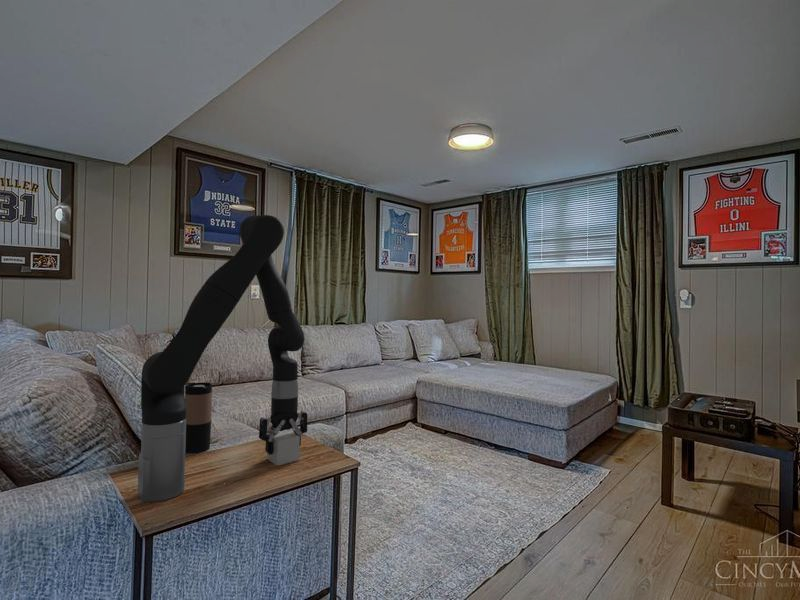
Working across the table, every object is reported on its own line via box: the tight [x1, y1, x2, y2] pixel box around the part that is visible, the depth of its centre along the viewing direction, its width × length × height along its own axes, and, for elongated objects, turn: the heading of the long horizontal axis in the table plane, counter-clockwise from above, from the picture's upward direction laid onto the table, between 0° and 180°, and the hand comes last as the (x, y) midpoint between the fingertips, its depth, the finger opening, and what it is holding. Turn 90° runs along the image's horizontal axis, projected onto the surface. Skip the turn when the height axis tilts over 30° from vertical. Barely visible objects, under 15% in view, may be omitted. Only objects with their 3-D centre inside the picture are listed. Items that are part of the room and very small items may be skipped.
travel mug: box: [184, 382, 213, 454], centre depth 130 cm, size 8×8×20 cm
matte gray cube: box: [266, 430, 301, 466], centre depth 123 cm, size 7×7×7 cm
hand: (283, 450), depth 123 cm, fingers open, 8 cm apart
